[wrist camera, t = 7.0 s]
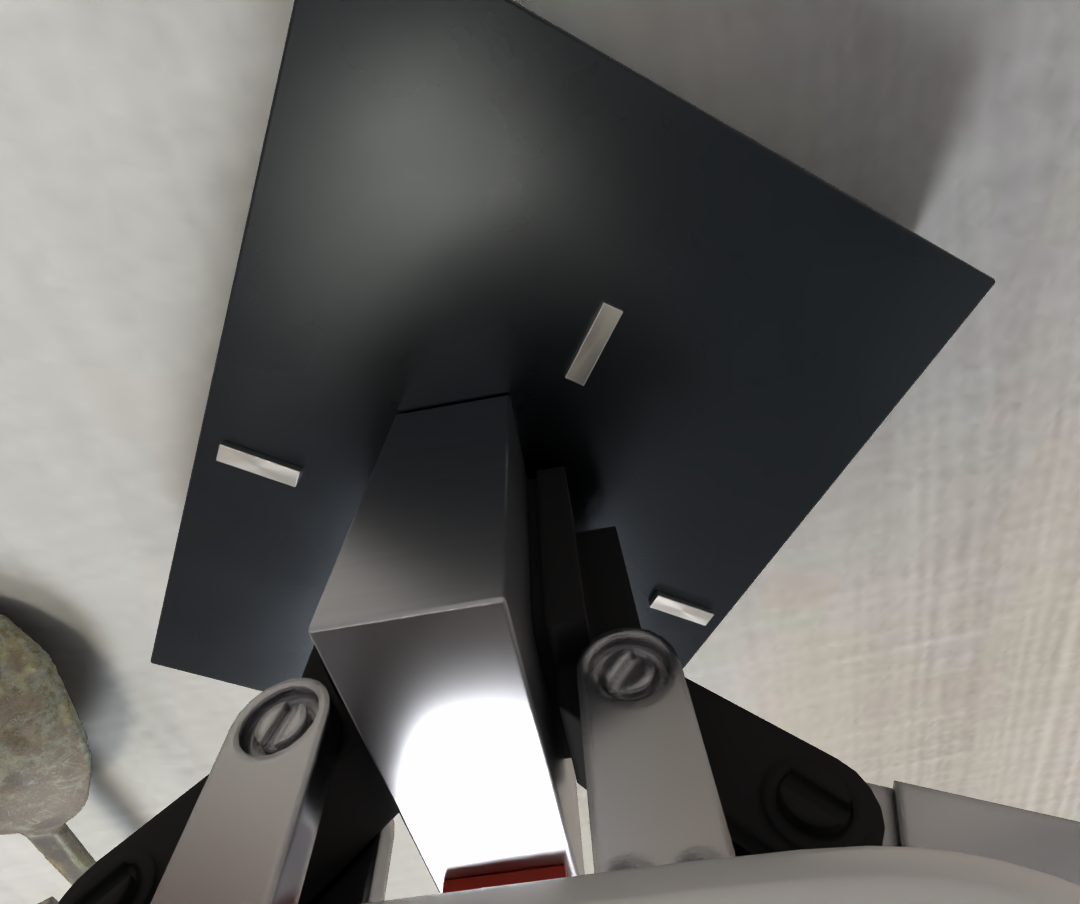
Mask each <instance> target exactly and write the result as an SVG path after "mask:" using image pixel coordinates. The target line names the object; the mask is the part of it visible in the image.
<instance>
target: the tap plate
mask: <svg viewBox="0 0 1080 904" xmlns="http://www.w3.org/2000/svg"><path fill="white" fill-rule="evenodd" d="M994 284H995V280H994V279H993V278H992V277H990V276H988V275H986V274H985V273H983V272H981V271H979V270H978V269H976V268H974V267H973V266H971V265H969V264H967V263H966V262H964V261H962V260H960V259H959V258H957V257H955V256H954V255H952V254H950V253H948V252H947V251H945V250H943V249H941V248H940V247H938V246H936V245H934V244H933V243H931V242H929V241H928V240H926V239H924V238H922V237H921V236H919V235H917V234H915V233H914V232H912V231H910V230H909V229H907V228H905V227H903V226H902V225H900V224H898V223H896V222H895V221H893V220H891V219H889V218H888V217H886V216H884V215H883V214H881V213H879V212H877V211H876V210H874V209H872V208H870V207H869V206H867V205H865V204H864V203H862V202H860V201H858V200H857V199H855V198H853V197H851V196H850V195H848V194H846V193H844V192H843V191H841V190H839V189H838V188H836V187H834V186H832V185H831V184H829V183H827V182H825V181H824V180H822V179H820V178H819V177H817V176H815V175H813V174H812V173H810V172H808V171H806V170H805V169H803V168H801V167H799V166H798V165H796V164H794V163H793V162H791V161H789V160H787V159H786V158H784V157H782V156H780V155H779V154H777V153H775V152H774V151H772V150H770V149H768V148H767V147H765V146H763V145H761V144H760V143H758V142H756V141H754V140H753V139H751V138H749V137H748V136H746V135H744V134H742V133H741V132H739V131H737V130H735V129H734V128H732V127H730V126H729V125H727V124H725V123H723V122H722V121H720V120H718V119H716V118H715V117H713V116H711V115H709V114H708V113H706V112H704V111H703V110H701V109H699V108H697V107H696V106H694V105H692V104H690V103H689V102H687V101H685V100H684V99H682V98H680V97H678V96H677V95H675V94H673V93H671V92H670V91H668V90H666V89H664V88H663V87H661V86H659V85H658V84H656V83H654V82H652V81H651V80H649V79H647V78H645V77H644V76H642V75H640V74H639V73H637V72H635V71H633V70H632V69H630V68H628V67H626V66H625V65H623V64H621V63H619V62H618V61H616V60H614V59H613V58H611V57H609V56H607V55H606V54H604V53H602V52H600V51H599V50H597V49H595V48H594V47H592V46H590V45H588V44H587V43H585V42H583V41H581V40H580V39H578V38H576V37H574V36H573V35H571V34H569V33H568V32H566V31H564V30H562V29H561V28H559V27H557V26H555V25H554V24H552V23H550V22H549V21H547V20H545V19H543V18H542V17H540V16H538V15H536V14H535V13H533V12H531V11H529V10H528V9H526V8H524V7H523V6H521V5H519V4H517V3H516V2H514V1H512V0H295V1H294V5H293V10H292V14H291V19H290V24H289V28H288V33H287V37H286V42H285V47H284V51H283V56H282V60H281V65H280V69H279V74H278V79H277V83H276V88H275V92H274V97H273V102H272V106H271V111H270V115H269V120H268V125H267V129H266V134H265V138H264V143H263V148H262V152H261V157H260V161H259V166H258V170H257V175H256V180H255V184H254V189H253V193H252V198H251V203H250V207H249V212H248V216H247V221H246V226H245V230H244V235H243V239H242V244H241V249H240V253H239V258H238V262H237V267H236V271H235V276H234V281H233V285H232V290H231V294H230V299H229V304H228V308H227V313H226V317H225V322H224V327H223V331H222V336H221V340H220V345H219V349H218V354H217V359H216V363H215V368H214V372H213V377H212V382H211V386H210V391H209V395H208V400H207V405H206V409H205V414H204V418H203V423H202V428H201V432H200V437H199V441H198V446H197V450H196V455H195V460H194V464H193V469H192V473H191V478H190V483H189V487H188V492H187V496H186V501H185V506H184V510H183V515H182V519H181V524H180V529H179V533H178V538H177V542H176V547H175V551H174V556H173V561H172V565H171V570H170V574H169V579H168V584H167V588H166V593H165V597H164V602H163V607H162V611H161V616H160V620H159V625H158V629H157V634H156V639H155V643H154V648H153V652H152V657H151V663H154V664H158V665H162V666H165V667H169V668H173V669H177V670H181V671H185V672H189V673H193V674H197V675H201V676H205V677H209V678H213V679H216V680H220V681H224V682H228V683H232V684H236V685H240V686H244V687H248V688H252V689H256V690H260V691H264V690H266V689H268V688H270V687H272V686H274V685H276V684H278V683H280V682H283V681H286V680H290V679H293V678H301V677H302V675H303V672H304V670H305V667H306V664H307V662H308V659H309V657H310V654H311V651H312V649H313V646H314V643H313V641H312V639H311V637H310V635H309V631H308V630H309V626H310V623H311V621H312V618H313V616H314V614H315V611H316V609H317V606H318V604H319V601H320V599H321V597H322V594H323V592H324V589H325V587H326V584H327V582H328V579H329V577H330V575H331V572H332V570H333V567H334V565H335V562H336V560H337V558H338V555H339V553H340V550H341V548H342V545H343V543H344V541H345V538H346V536H347V533H348V531H349V528H350V526H351V524H352V521H353V519H354V516H355V514H356V511H357V509H358V506H359V504H360V502H361V499H362V497H363V494H364V492H365V489H366V487H367V485H368V482H369V480H370V477H371V475H372V472H373V470H374V468H375V465H376V463H377V460H378V458H379V455H380V453H381V451H382V448H383V446H384V443H385V441H386V438H387V436H388V433H389V431H390V429H391V426H392V424H393V421H394V419H395V416H396V415H398V414H403V413H409V412H415V411H420V410H426V409H432V408H437V407H443V406H449V405H455V404H460V403H466V402H472V401H477V400H483V399H489V398H494V397H500V396H506V395H508V396H509V397H510V400H511V404H512V409H513V414H514V418H515V423H516V427H517V432H518V437H519V441H520V446H521V451H522V455H523V460H524V464H525V469H526V474H527V478H528V480H530V479H536V478H537V471H538V470H544V469H550V468H556V467H562V466H564V467H565V472H566V478H567V483H568V489H569V494H570V500H571V506H572V511H573V517H574V522H575V528H576V532H582V531H588V530H594V529H600V528H606V527H612V526H615V527H616V530H617V533H618V537H619V541H620V545H621V549H622V553H623V557H624V561H625V565H626V569H627V573H628V577H629V581H630V585H631V589H632V593H633V597H634V601H635V605H636V609H637V613H638V617H639V621H640V626H641V629H645V630H650V631H652V632H654V633H656V634H658V635H660V636H662V637H664V638H665V639H666V640H667V641H668V642H669V643H670V644H671V645H672V646H673V647H674V649H675V651H676V653H677V655H678V657H679V659H680V662H681V666H682V669H683V668H684V667H685V666H686V664H687V663H688V662H689V661H690V659H691V658H692V657H693V656H694V654H695V653H696V652H697V651H698V649H699V648H700V647H701V646H702V645H703V643H704V642H705V641H706V640H707V638H708V637H709V636H710V635H711V633H712V632H713V631H714V630H715V628H716V627H717V626H718V625H719V624H720V622H721V621H722V620H723V619H724V617H725V616H726V615H727V614H728V612H729V611H730V610H731V609H732V607H733V606H734V605H735V604H736V603H737V601H738V600H739V599H740V598H741V596H742V595H743V594H744V593H745V591H746V590H747V589H748V588H749V586H750V585H751V584H752V583H753V582H754V580H755V579H756V578H757V577H758V575H759V574H760V573H761V572H762V570H763V569H764V568H765V567H766V565H767V564H768V563H769V562H770V560H771V559H772V558H773V557H774V556H775V554H776V553H777V552H778V551H779V549H780V548H781V547H782V546H783V544H784V543H785V542H786V541H787V539H788V538H789V537H790V536H791V535H792V533H793V532H794V531H795V530H796V528H797V527H798V526H799V525H800V523H801V522H802V521H803V520H804V518H805V517H806V516H807V515H808V514H809V512H810V511H811V510H812V509H813V507H814V506H815V505H816V504H817V502H818V501H819V500H820V499H821V497H822V496H823V495H824V494H825V493H826V491H827V490H828V489H829V488H830V486H831V485H832V484H833V483H834V481H835V480H836V479H837V478H838V476H839V475H840V474H841V473H842V471H843V470H844V469H845V468H846V467H847V465H848V464H849V463H850V462H851V460H852V459H853V458H854V457H855V455H856V454H857V453H858V452H859V450H860V449H861V448H862V447H863V446H864V444H865V443H866V442H867V441H868V439H869V438H870V437H871V436H872V434H873V433H874V432H875V431H876V429H877V428H878V427H879V426H880V425H881V423H882V422H883V421H884V420H885V418H886V417H887V416H888V415H889V413H890V412H891V411H892V410H893V408H894V407H895V406H896V405H897V404H898V402H899V401H900V400H901V399H902V397H903V396H904V395H905V394H906V392H907V391H908V390H909V389H910V387H911V386H912V385H913V384H914V382H915V381H916V380H917V379H918V378H919V376H920V375H921V374H922V373H923V371H924V370H925V369H926V368H927V366H928V365H929V364H930V363H931V361H932V360H933V359H934V358H935V357H936V355H937V354H938V353H939V352H940V350H941V349H942V348H943V347H944V345H945V344H946V343H947V342H948V340H949V339H950V338H951V337H952V336H953V334H954V333H955V332H956V331H957V329H958V328H959V327H960V326H961V324H962V323H963V322H964V321H965V319H966V318H967V317H968V316H969V315H970V313H971V312H972V311H973V310H974V308H975V307H976V306H977V305H978V303H979V302H980V301H981V300H982V298H983V297H984V296H985V295H986V293H987V292H988V291H989V290H990V289H991V287H992V286H993V285H994Z"/></svg>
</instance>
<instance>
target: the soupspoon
mask: <svg viewBox="0 0 1080 904" xmlns="http://www.w3.org/2000/svg"><path fill="white" fill-rule="evenodd" d="M91 773H92V763H91V751H90V749H89V746H88V744H87V735H86V732H85V729H84V727H83V726H82V723H81V719H79V718H78V716H77V711H76V710H75V708H74V707H73V703H72V701H71V699H70V697H69V695H68V693H67V691H66V689H65V687H64V684H63V681H62V678H61V677H60V676H59V675H58V671H57V669H56V665H55V664H54V663H53V662H52V659H51V658H50V656H49V654H48V653H47V652H46V651H44V650H43V649H42V647H41V646H40V645H39V644H38V643H36V642H35V641H34V640H32V638H31V637H29V636H28V635H26V634H25V633H24V632H22V630H21V628H19V627H16V625H15V624H14V623H12V621H11V620H10V619H9V618H8V617H6V616H5V615H1V614H0V835H5V834H15V833H20V834H22V835H24V836H26V837H27V838H28V839H29V840H30V841H31V842H32V843H33V844H34V845H35V847H36V848H37V849H38V850H39V851H40V852H41V853H42V854H43V855H44V856H45V858H46V859H47V860H48V861H49V862H50V863H51V864H52V865H53V866H54V867H55V868H56V869H57V870H58V871H59V872H60V873H61V874H62V875H63V876H64V877H65V878H66V879H67V880H68V881H69V882H70V883H71V884H72V885H73V884H74V883H75V881H76V880H77V879H78V878H79V877H81V876H82V875H83V874H84V873H85V872H86V871H87V870H88V869H89V868H90V867H92V866H93V865H94V864H95V863H96V861H95V860H94V859H93V857H92V856H91V855H90V854H89V853H88V851H87V850H86V849H85V848H84V846H83V845H82V844H81V842H80V841H79V840H78V838H77V837H76V836H75V835H74V833H73V832H72V831H71V830H70V829H69V827H68V826H67V825H66V822H67V821H68V820H70V819H71V818H73V817H74V816H75V815H77V814H78V813H79V812H80V811H81V809H82V807H83V806H84V805H85V803H86V801H87V799H88V795H89V788H90V778H91Z"/></svg>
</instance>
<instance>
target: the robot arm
mask: <svg viewBox="0 0 1080 904" xmlns="http://www.w3.org/2000/svg"><path fill="white" fill-rule="evenodd" d="M527 507H528V539H529V570H530V600H531V619H532V627H533V633H534V639H535V643H536V647H537V651H538V655H539V659H540V663H541V667H542V671H543V675H544V679H545V683H546V687H547V691H548V695H549V700H550V704H551V708H552V712H553V716H554V720H555V724H556V728H557V732H558V736H559V740H560V744H561V748H562V752H563V756H564V758H565V759H568V758H571V759H572V763H573V767H574V771H575V775H576V779H577V783H578V784H580V785H581V786H582V787H584V788H585V789H586V790H587V796H588V807H589V818H590V829H591V840H592V851H593V862H594V873H595V874H587V875H579V876H571V877H564V878H556V879H548V880H540V881H532V882H524V883H516V884H509V885H501V886H493V887H485V888H478V889H470V890H463V891H455V892H447V893H440V894H432V895H425V896H417V897H410V898H402V899H395V900H387V901H384V898H385V891H386V885H387V879H388V872H389V866H390V859H391V853H392V846H393V840H394V820H393V818H394V817H395V816H396V815H397V814H398V813H399V811H398V809H397V807H396V805H395V803H394V801H393V799H392V797H391V795H390V793H389V791H388V789H387V787H386V785H385V783H384V781H383V779H382V777H381V775H380V773H379V771H378V769H377V768H376V766H375V764H374V762H373V760H372V758H371V756H370V754H369V752H368V750H367V748H366V746H365V744H364V742H363V740H362V738H361V736H360V734H359V732H358V730H357V728H356V726H355V724H354V722H353V720H352V718H351V716H350V714H349V712H348V710H347V708H346V706H345V704H344V702H343V700H342V698H341V696H340V694H339V692H338V690H337V688H336V686H335V684H334V682H333V680H332V678H331V676H330V674H329V672H328V670H327V668H326V666H325V664H324V662H323V660H322V658H321V656H320V654H319V652H318V650H317V648H316V646H315V645H314V646H313V649H312V651H311V654H310V657H309V659H308V662H307V664H306V667H305V670H304V672H303V675H302V677H301V678H293V679H290V680H286V681H283V682H280V683H278V684H276V685H274V686H272V687H270V688H268V689H266V690H264V691H263V692H262V693H260V694H259V695H258V696H256V697H255V698H254V699H252V700H251V701H250V702H249V703H248V704H247V705H246V707H245V708H244V709H243V710H242V711H241V712H240V713H239V714H238V716H237V718H236V719H235V721H234V723H233V724H232V726H231V728H230V730H229V732H228V734H227V736H226V739H225V741H224V743H223V745H222V747H221V750H220V752H219V754H218V756H217V758H216V761H215V763H214V765H213V767H212V769H211V772H210V774H209V775H207V776H206V777H205V778H204V779H202V780H201V781H200V782H198V783H197V784H196V785H195V786H193V787H192V788H191V789H189V790H188V791H187V792H186V793H184V794H183V795H182V796H181V797H179V798H178V799H177V800H175V801H174V802H173V803H172V804H170V805H169V806H168V807H166V808H165V809H164V810H163V811H161V812H160V813H159V814H157V815H156V816H155V817H154V818H152V819H151V820H150V821H149V822H147V823H146V824H145V825H143V826H142V827H141V828H140V829H138V830H137V831H136V832H134V833H133V834H132V835H131V836H129V837H128V838H127V839H125V840H124V841H123V842H122V843H120V844H119V845H118V846H117V847H115V848H114V849H113V850H111V851H110V852H109V853H108V854H106V855H105V856H104V857H102V858H101V859H100V860H99V861H97V862H96V863H95V864H94V865H93V866H92V867H90V868H89V869H88V870H87V871H86V872H85V873H84V874H83V875H82V876H81V877H79V878H78V879H77V880H76V881H75V883H74V884H73V885H72V886H71V888H70V889H69V890H68V891H67V892H66V894H65V895H64V896H63V897H62V898H61V900H60V901H59V902H58V901H57V900H56V899H55V898H54V897H50V898H48V899H46V900H44V901H42V902H40V903H38V904H1080V822H1077V821H1073V820H1068V819H1064V818H1059V817H1055V816H1051V815H1046V814H1042V813H1037V812H1033V811H1028V810H1024V809H1019V808H1015V807H1010V806H1006V805H1001V804H997V803H992V802H988V801H983V800H979V799H974V798H970V797H966V796H961V795H957V794H952V793H948V792H943V791H939V790H934V789H930V788H925V787H921V786H916V785H912V784H907V783H903V782H898V781H894V784H893V789H892V788H888V787H883V786H879V785H874V784H870V783H866V782H865V781H864V780H863V779H862V778H861V777H860V776H859V775H858V774H857V773H856V771H854V770H853V769H851V768H850V767H848V766H847V765H845V764H844V763H842V762H841V761H840V760H838V759H836V758H835V757H833V756H831V755H829V754H827V753H825V752H823V751H822V750H820V749H818V748H816V747H814V746H812V745H810V744H808V743H807V742H805V741H803V740H801V739H799V738H797V737H795V736H794V735H792V734H790V733H788V732H786V731H784V730H782V729H780V728H779V727H777V726H775V725H773V724H771V723H769V722H767V721H765V720H764V719H762V718H760V717H758V716H756V715H754V714H752V713H751V712H749V711H747V710H745V709H743V708H741V707H739V706H737V705H736V704H734V703H732V702H730V701H728V700H726V699H724V698H723V697H721V696H719V695H717V694H715V693H713V692H711V691H709V690H708V689H706V688H704V687H702V686H700V685H698V684H696V683H694V682H693V681H691V680H689V679H687V678H685V676H684V673H683V669H682V666H681V662H680V659H679V657H678V655H677V653H676V651H675V649H674V647H673V646H672V645H671V644H670V643H669V642H668V641H667V640H666V639H665V638H664V637H662V636H660V635H658V634H656V633H654V632H652V631H650V630H645V629H641V626H640V621H639V617H638V613H637V609H636V605H635V601H634V597H633V593H632V589H631V585H630V581H629V577H628V573H627V569H626V565H625V561H624V557H623V553H622V549H621V545H620V541H619V537H618V533H617V530H616V527H615V526H612V527H606V528H600V529H594V530H588V531H582V532H576V528H575V522H574V517H573V511H572V506H571V500H570V494H569V489H568V483H567V478H566V472H565V467H564V466H562V467H556V468H550V469H544V470H538V471H537V478H536V479H530V480H527Z"/></svg>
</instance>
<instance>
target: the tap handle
mask: <svg viewBox="0 0 1080 904" xmlns="http://www.w3.org/2000/svg"><path fill="white" fill-rule="evenodd" d="M527 480H528V478H527V474H526V469H525V464H524V460H523V455H522V451H521V446H520V441H519V437H518V432H517V427H516V423H515V418H514V414H513V409H512V404H511V400H510V397H509V396H508V395H506V396H500V397H494V398H489V399H483V400H477V401H472V402H466V403H460V404H455V405H449V406H443V407H437V408H432V409H426V410H420V411H415V412H409V413H403V414H398V415H396V416H395V419H394V421H393V424H392V426H391V429H390V431H389V433H388V436H387V438H386V441H385V443H384V446H383V448H382V451H381V453H380V455H379V458H378V460H377V463H376V465H375V468H374V470H373V472H372V475H371V477H370V480H369V482H368V485H367V487H366V489H365V492H364V494H363V497H362V499H361V502H360V504H359V506H358V509H357V511H356V514H355V516H354V519H353V521H352V524H351V526H350V528H349V531H348V533H347V536H346V538H345V541H344V543H343V545H342V548H341V550H340V553H339V555H338V558H337V560H336V562H335V565H334V567H333V570H332V572H331V575H330V577H329V579H328V582H327V584H326V587H325V589H324V592H323V594H322V597H321V599H320V601H319V604H318V606H317V609H316V611H315V614H314V616H313V618H312V621H311V623H310V626H309V630H308V631H309V635H310V637H311V639H312V641H313V643H314V645H315V646H316V648H317V650H318V652H319V654H320V656H321V658H322V660H323V662H324V664H325V666H326V668H327V670H328V672H329V674H330V676H331V678H332V680H333V682H334V684H335V686H336V688H337V690H338V692H339V694H340V696H341V698H342V700H343V702H344V704H345V706H346V708H347V710H348V712H349V714H350V716H351V718H352V720H353V722H354V724H355V726H356V728H357V730H358V732H359V734H360V736H361V738H362V740H363V742H364V744H365V746H366V748H367V750H368V752H369V754H370V756H371V758H372V760H373V762H374V764H375V766H376V768H377V769H378V771H379V773H380V775H381V777H382V779H383V781H384V783H385V785H386V787H387V789H388V791H389V793H390V795H391V797H392V799H393V801H394V803H395V805H396V807H397V809H398V811H399V813H400V815H401V817H402V819H403V821H404V823H405V825H406V827H407V829H408V831H409V833H410V835H411V837H412V839H413V841H414V843H415V845H416V847H417V849H418V851H419V853H420V855H421V857H422V859H423V861H424V863H425V865H426V867H427V869H428V871H429V873H430V875H431V877H432V879H433V881H434V883H435V885H436V887H437V889H438V891H439V892H440V893H447V892H455V891H463V890H470V889H478V888H485V887H493V886H501V885H509V884H516V883H524V882H532V881H540V880H548V879H556V878H564V877H571V876H579V875H585V873H584V862H583V851H582V841H581V830H580V819H579V808H578V798H577V787H576V776H575V771H574V767H573V763H572V759H571V758H568V759H565V758H564V756H563V752H562V748H561V744H560V740H559V736H558V732H557V728H556V724H555V720H554V716H553V712H552V708H551V704H550V700H549V695H548V691H547V687H546V683H545V679H544V675H543V671H542V667H541V663H540V659H539V655H538V651H537V647H536V643H535V639H534V633H533V627H532V619H531V600H530V570H529V539H528V507H527Z"/></svg>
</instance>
